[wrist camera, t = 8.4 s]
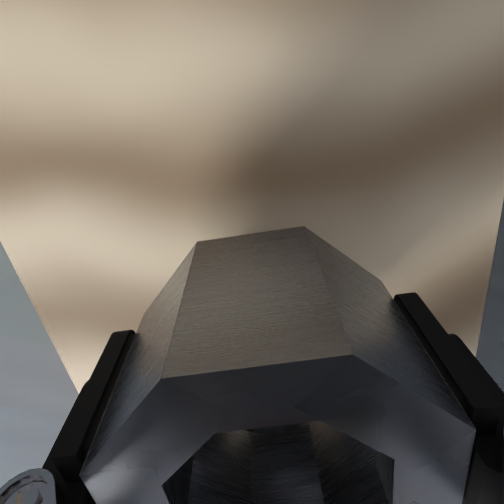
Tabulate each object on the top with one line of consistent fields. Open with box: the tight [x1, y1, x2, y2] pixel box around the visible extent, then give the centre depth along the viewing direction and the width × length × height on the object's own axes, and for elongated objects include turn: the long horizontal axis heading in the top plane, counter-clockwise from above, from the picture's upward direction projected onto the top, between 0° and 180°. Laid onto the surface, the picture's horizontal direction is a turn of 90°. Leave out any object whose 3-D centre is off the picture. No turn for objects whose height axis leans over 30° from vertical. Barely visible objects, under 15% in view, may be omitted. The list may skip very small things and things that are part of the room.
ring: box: [79, 226, 476, 504], centre depth 10 cm, size 7×7×5 cm
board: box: [0, 0, 504, 393], centre depth 13 cm, size 24×18×2 cm
